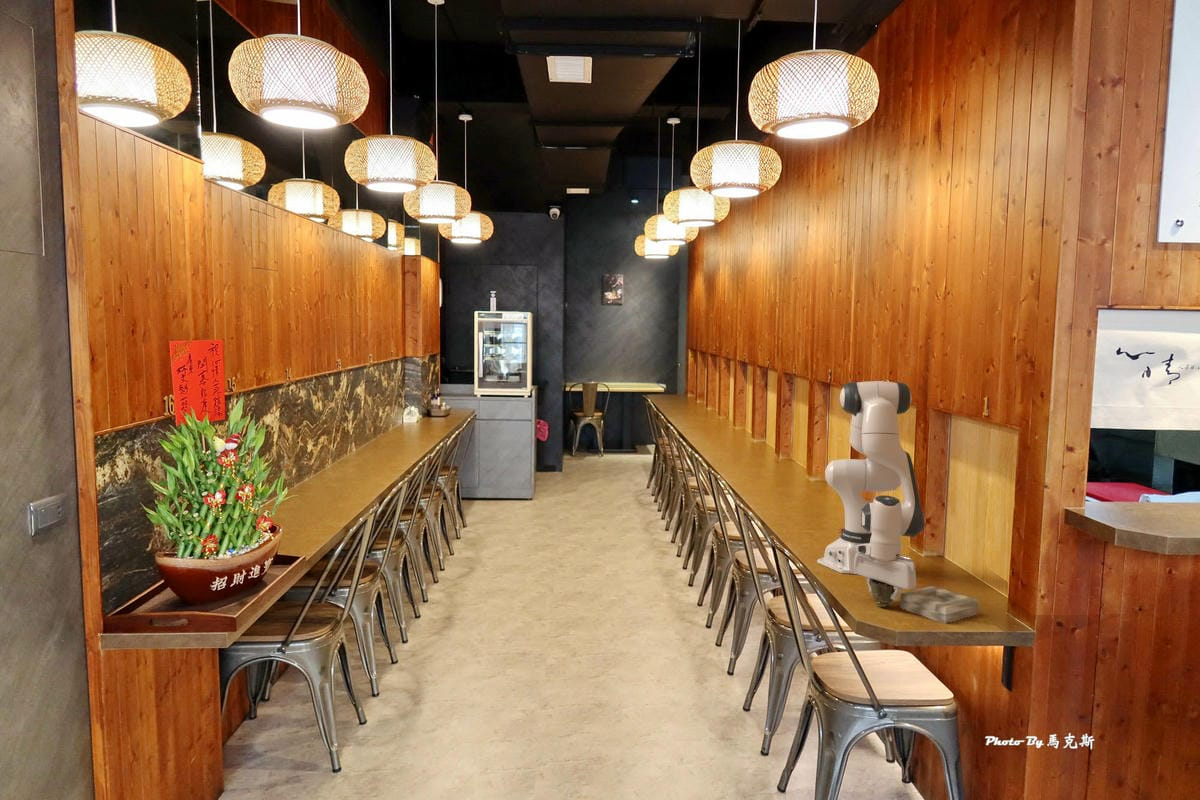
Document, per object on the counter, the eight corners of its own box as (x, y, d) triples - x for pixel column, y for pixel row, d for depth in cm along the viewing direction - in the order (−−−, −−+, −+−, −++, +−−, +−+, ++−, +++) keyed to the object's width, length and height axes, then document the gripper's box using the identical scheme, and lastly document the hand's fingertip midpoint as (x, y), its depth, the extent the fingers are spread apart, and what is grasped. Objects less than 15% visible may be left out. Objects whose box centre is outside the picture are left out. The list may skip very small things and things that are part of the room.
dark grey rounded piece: (890, 602, 240) (891, 577, 239) (900, 610, 233) (901, 584, 232) (866, 602, 240) (867, 576, 239) (875, 610, 232) (876, 583, 232)
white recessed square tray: (900, 609, 235) (900, 593, 235) (931, 601, 243) (932, 586, 242) (945, 625, 222) (945, 607, 222) (977, 616, 230) (977, 599, 230)
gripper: (922, 557, 228) (920, 604, 229) (865, 542, 245) (863, 586, 246) (908, 560, 224) (906, 607, 225) (851, 544, 242) (849, 588, 243)
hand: (883, 596), depth 236 cm, fingers open, 6 cm apart
